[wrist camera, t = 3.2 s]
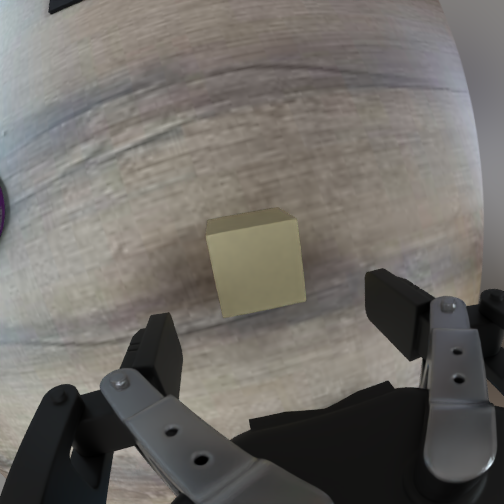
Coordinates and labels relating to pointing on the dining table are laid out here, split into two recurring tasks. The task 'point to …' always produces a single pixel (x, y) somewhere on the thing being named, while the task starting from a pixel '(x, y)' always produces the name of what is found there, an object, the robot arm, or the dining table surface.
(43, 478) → the robot arm
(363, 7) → the dining table surface
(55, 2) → the mat
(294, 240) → the block
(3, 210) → the beverage can
